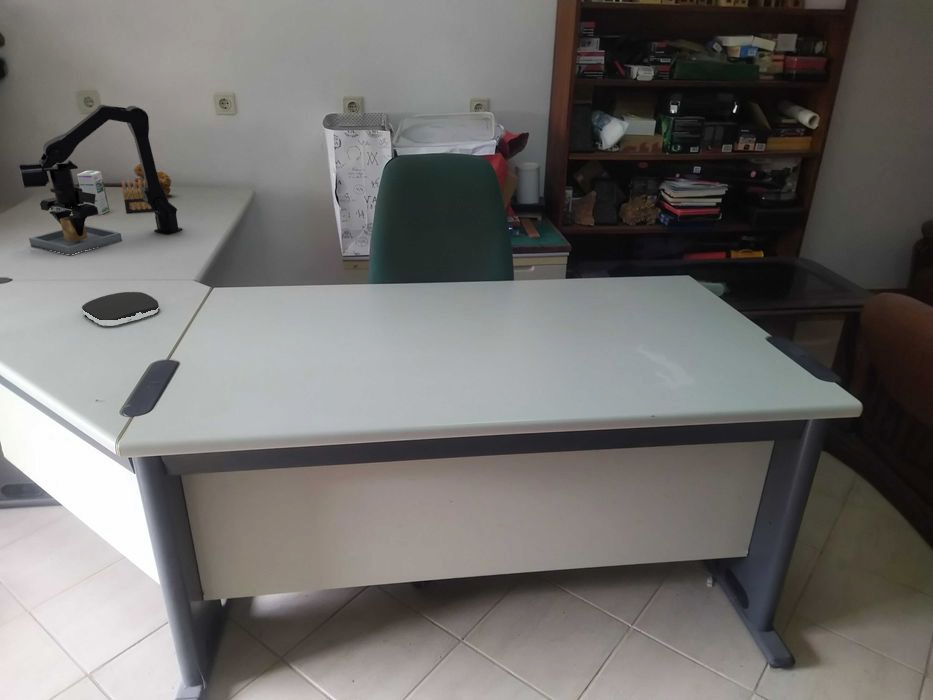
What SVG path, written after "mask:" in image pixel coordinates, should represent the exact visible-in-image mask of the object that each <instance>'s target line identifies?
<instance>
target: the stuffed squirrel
mask: <svg viewBox="0 0 933 700" xmlns="http://www.w3.org/2000/svg"><path fill="white" fill-rule="evenodd" d="M133 172H134V175H136V177H137V178H136V177H135V178H133V179H134V180H135V182H136V185H137V189H138V192H139V187H138V179H140V181H141V184H142V188H144V175H143V171H142V167H141V163H140V164H137V165H136V166H135V167H134V169H133ZM157 175H158V179H159V182H160V184H161V186H162V188H163V190H164V192H165V194H166V197H168V196H169V194H170V193H171V190H172V189H171V188H170V187H171V184H172V180H171V176H170V175H168V174H167V173H165V172H164V171H158V172H157ZM138 177H139V178H138Z"/></svg>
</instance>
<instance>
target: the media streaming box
mask: <svg viewBox="0 0 933 700" xmlns="http://www.w3.org/2000/svg"><path fill="white" fill-rule="evenodd" d="M158 307H159V308H160V306H159V302H158V300H157V299H156V298H154V297H153V296H151V295H149V294H147V293H146V292H145V293H144V292H140V291H124V292H123V291H121V292H117V293H111V294H107V295H103V296H100V297H97V298H95V299H91V300H89V301H87V302H86V303H84V304H83V305H82V307H81V310H82V309H83V310H84V311H85V312H87V313H89V314H90V315H92V316H93V317H95V318H97V319H99V320H118V319H121V318H126V317H131V316H135V315H136V313H139V312H141V313H142V314H143V313H146V312H148V311H151V310H156V309H157V308H158ZM83 310H82V311H83Z"/></svg>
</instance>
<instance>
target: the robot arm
mask: <svg viewBox="0 0 933 700" xmlns="http://www.w3.org/2000/svg"><path fill="white" fill-rule="evenodd" d="M108 121H115V122H116V121H117V122H121V123H126V124H127V125H126V126H127V127H128V129H129V130H130V132H131V135H132V136H133V138H134V139H133V140H134V143H135V146H136V150H137V154H138V155H137V156H138V159H139V162H140V164H141V167H142V171H143V175H144V179H145V188H142V187H141V188H140V189H141V191H142V193H143V200H144V201H145V202H146V203H147V204H148V205H149V206H150V207H151V208H152V209H154V210H155V211H156V212H154V218H155V224H156V229H154V230H153V231H154V232H155V233H159V234H160V233H161V234H163V235H171V234H173V233H177V232H180V231H183V228H182V227H179V223H178V218H177V211H178V209H177V208H176V207H175V205H173V204H172V203H171V202H170V201H169V199H168V196H166V194H165V192H164V190H163V188H162V186H161V184H160V182H159V179H158V175H157V168H156V163H155V159H154V155H153V152H152V147H151V142H150V137H149V133H150V121H149V115H148V113H147V112H146V111H145V110H144V109H143V108H140V107H138V106H136V105H128V106H127V107H122V106H113V105H112V106H111V105H106V104H100V105H99V106H97V108H95V110H93V111H92V112H91V113H90V114H88V115H87V116H86V117H84V118H83V119H82V120H81V121H79V122H78V123H77V124H75V125H74V126H73V127H72V128H71V129H69V130H68V131H67V132H65V133H62V134H60V135H57V136H55V137H53V138H51V139H50V140H48V141H47V140H46V142H45V143H44V144H43V146H42V149H43V154H42V155H41V157H40V159H39V161H38V162H37V163H36V162H35V163H19V164H18V167H19V172H20V174H19V175H20V180H21V183H22V186H23V188H24V189H29V188H30V189H32V188H39V187H41V188H42V187H47V185H48V183H50V180H51V185H52V188H49V191H50V192H51V193H54V195H55V196H54V197H50V198H46V199H42V200H41V201H40V203H39V205H40V209H41V210H42V211H49V212H48V213H49V214H50V215H51V216H52V217H53V218H54V219H55V220H56V221H57V222H58V223H59V224H60V225H61V222H60V219H61V218H65V217H68V218H69V220H70V221H71V223H72V225H73V227H74V229H75V231H76V232H77V234H78V235H79V236H82V235H83V229H84V224H86V223H85V221H86V219H87V218H88V217H92V216H95V215H96V216H97V214H99V213H98V208H97V207H96V206H94V205H91V204H84V202H86V203H92V204H95V197H96V194H92V193H87V192H83V191H82V189H81V188H80V187H78V186H75V181H74V177H73V172H72V170H77V169H78V168H79V167H78V165H77V164H76V163H74V162H72V161H71V160H70V159H69V158H70V156H71V155H72V154H73V153H74V151H75V149H76V148H77V147H78V145H79V144H80V143H81V142H83V141H84V140H85V139H86V138H88V137H89V136H90V135H92V134H93V133H94V132H95V131H96V130H98V129H99V128H100V127H102V126H103V125H104V124H105V123H107V122H108ZM67 159H68V160H67ZM48 172H49V173H48ZM48 174H49V175H48ZM49 176H50V177H49ZM49 178H50V179H49ZM147 204H146V205H147ZM50 210H51V211H50ZM71 214H72V215H71Z"/></svg>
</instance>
